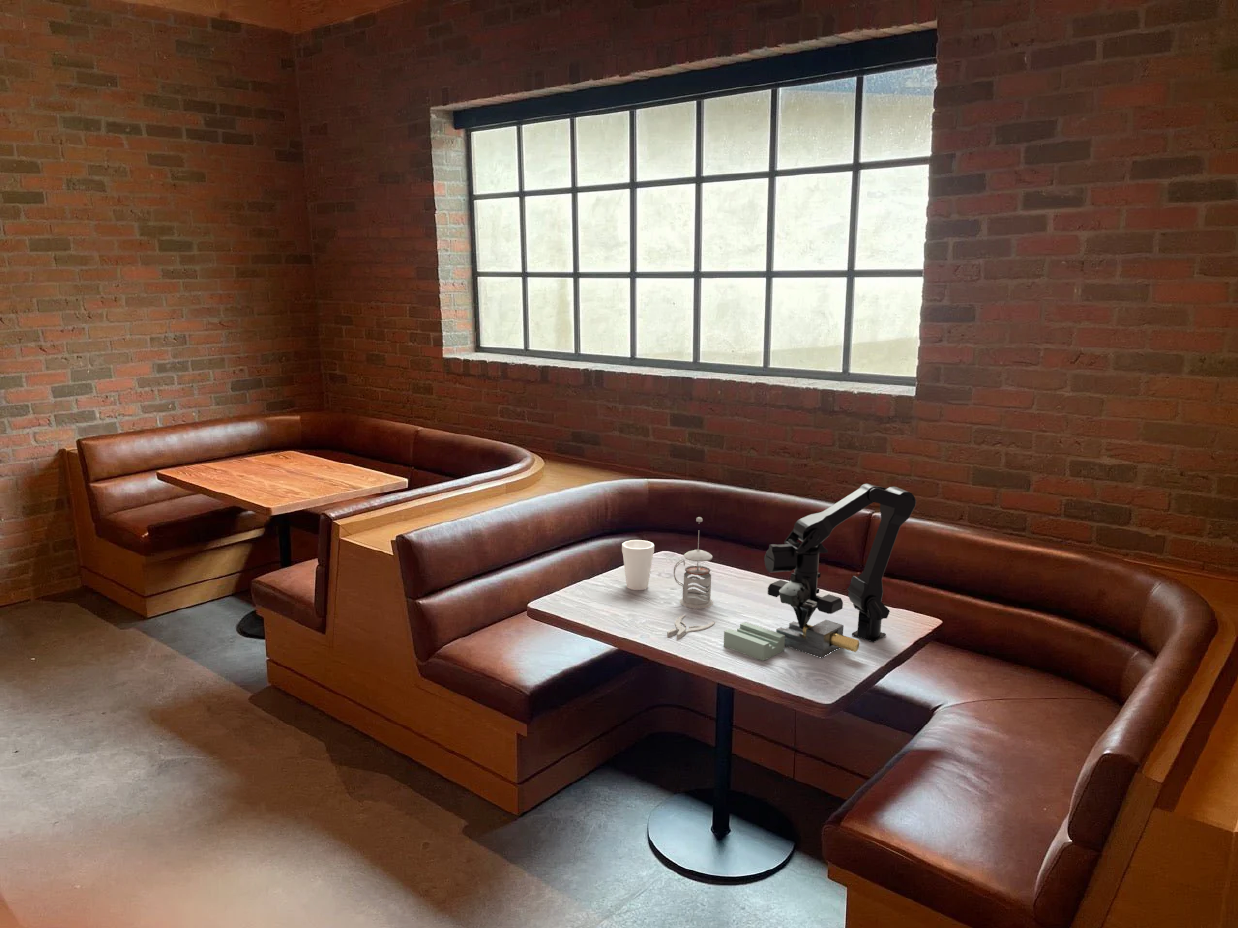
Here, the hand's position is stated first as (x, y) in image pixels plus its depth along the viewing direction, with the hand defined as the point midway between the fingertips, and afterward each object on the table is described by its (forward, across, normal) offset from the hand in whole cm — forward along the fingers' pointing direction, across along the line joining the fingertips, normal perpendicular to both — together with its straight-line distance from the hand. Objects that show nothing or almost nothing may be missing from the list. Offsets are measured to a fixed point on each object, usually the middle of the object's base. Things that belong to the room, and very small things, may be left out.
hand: (802, 628), depth 220 cm
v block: (+4, -6, -12) cm, 14 cm away
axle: (0, +8, 0) cm, 8 cm away
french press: (+4, -37, +2) cm, 37 cm away
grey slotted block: (+4, +2, 0) cm, 4 cm away
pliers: (+4, -26, -14) cm, 30 cm away
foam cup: (+4, -57, 0) cm, 57 cm away
